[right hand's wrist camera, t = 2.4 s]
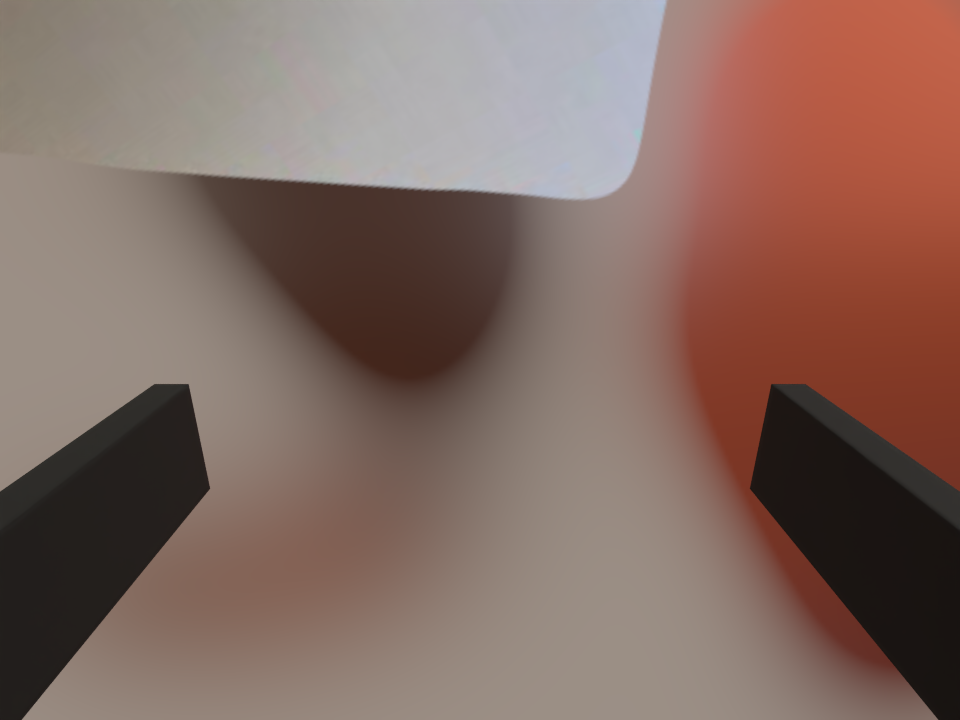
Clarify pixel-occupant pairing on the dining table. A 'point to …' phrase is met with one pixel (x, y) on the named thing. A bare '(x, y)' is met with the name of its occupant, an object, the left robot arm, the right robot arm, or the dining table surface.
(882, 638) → the right robot arm
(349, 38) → the dining table surface
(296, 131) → the dining table surface
